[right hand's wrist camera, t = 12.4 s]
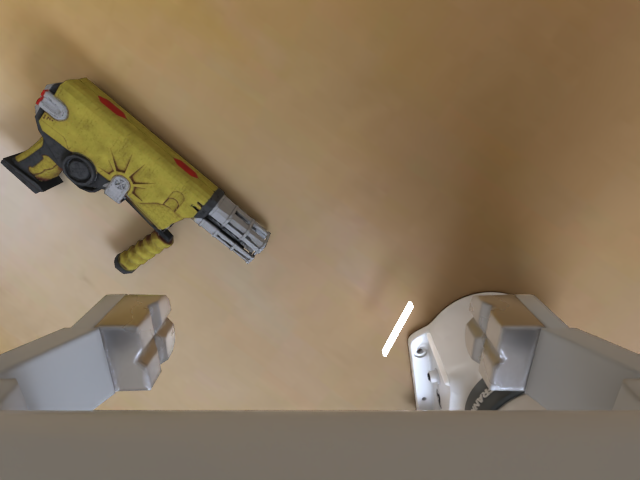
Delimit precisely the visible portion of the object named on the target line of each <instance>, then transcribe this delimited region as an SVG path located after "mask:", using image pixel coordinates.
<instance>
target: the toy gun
mask: <svg viewBox="0 0 640 480" xmlns="http://www.w3.org/2000/svg"><path fill="white" fill-rule="evenodd" d="M35 109H36V116H35V119H36V122H37V126H38V130H39V132H40V133H41V135H42V137H41V138H40V140H39V141H38V142H36V143H35V144H34V145H33V146H32V147H31V148H29V149H28V150H26V151H24V152H21V153H18V154H15V155H12V156H9V157H6V158H3V160H2V161H1V163H2V164H3V165H4V166H5V167H6V168H7V169H8V170H9V171H10V172H11V173H13V174H14V175H15V176H16V177H17V178H18V179H19V180H20V181H22V182H23V183H24V184H25V185H26V186H27V187H28V188H29V189H31V190H32V191H33V192H34V193H35V194H36V193H38V192H44V191H46V190H48V189H50V188H52V187H54V186H56V185H58V184H60V183H62V182H63V181H62V179H61V178H60V177H59V176H58V175H59V174H60V173H61V171H63V173H64V174H65V175H66V176H67V177H68V178H69V179H70V180H71V181H72V182H73V183H74V184H75V185H76V186H78V187H79V188H80V189H83V190H85V191H87V192H97V191H99V190H101V189H105V192H104V193H105V194H106V195H107V196H109V197H110V198H111V199H113V200H114V201H115V202H117V203H121V202H123V201H124V200H126V201H127V202H128V203H129V204H130V205H131V206H132V207H133V208H134V209H135V210H136V211H137V212H138V213H139V214H140V215H141V216H142V217H143V218H144V219H145V220H146V221H147V222H148V223H149V224H150V225H151V226H152V227H153V228H154V229H155V231H153V232H152V233H151V234H150V235H147V236H146V237H145V238H144V239H143V240H139V241H138V242H137V244H136V245H133V246H131V247H130V248H129V249H128V251H124V252H122V253H120V254H118V255H117V256H116V258H115V260H114V263H115V268H116V269H118V270H119V271H120V272H121V273H123V274H127V273H132V272H134V271H135V270H136V269H137V268H138V267H139V266H140V265H141V264H144V263H145V262H147V261H148V259H151V258H153V257H154V256H155V254H158V253H160V252H161V251H162V250H163V249H164V248H168V247H170V246H171V245H172V244H173V235H172V234H171V233H170V232H169V231H168V230H167V229H168V228H169V227H171V226H172V225H173V224H174V223H175V222H178V221H180V220H183V219H184V218H191V219H192V220H194V221H195V222H196V223H197V224H198V225H199V226H202V227H203V228H204V229H205V230H207V231H208V232H209V233H210V234H211V235H212V236H213V237H215V238H217V239H218V240H219V241H220V242H222V243H223V244H224V245H225V246H227V247H228V248H229V249H230V250H231V251H232V250H233V251H234V252H235V253H236V254H237V255H239V256H240V257H241V258H242V259H244V260H245V261H246V263H247V264H248V263H250V262H251V261H252V260H253V259H254V257H255V255H256V254H257V253H258V254H259V253H260V252H261V251H262V250H263V249H264V248H265V247H266V245H267V242H268V239H269V236H270V234H271V233H270V232H267V231H266V230H265V229H264V228H263V227H261V226H260V225H259V224H258V223H257V222H256V221H255V220H254V219H252V218H251V217H249V216H248V215H247V214H246V213H245V212H243V211H242V210H241V209H240V208H239V206H237V205H235V204H234V203H233V202H232V201H231V200H230V199H228V198H227V197H226V196H225V195H224V192H223V191H222V190H221V189H219V188H218V187H217V186H216V185H215V184H213V183H212V182H211V181H210V180H209V179H207V178H206V177H205V176H204V175H203V174H201V173H200V172H199V171H198V170H197V169H195V168H194V167H193V166H192V165H191V164H189V163H188V162H187V161H186V160H185V159H183V158H182V157H181V156H180V155H179V154H177V153H176V152H175V151H174V150H173V149H171V148H170V147H169V146H168V145H167V144H165V143H164V142H163V141H162V140H161V139H159V138H158V137H157V136H156V135H155V134H153V133H152V132H151V131H150V130H148V129H147V128H146V127H145V126H144V125H142V124H141V123H140V122H139V121H138V120H136V119H135V118H134V117H133V116H132V115H130V114H129V113H128V112H127V111H126V110H124V109H123V108H122V107H121V106H120V105H118V104H117V103H116V102H115V101H114V100H112V99H111V98H110V97H109V96H108V95H106V94H105V93H104V92H103V91H102V90H100V89H99V88H98V87H97V86H96V85H94V84H93V83H92V82H91V81H90V80H88V79H87V78H82V79H71V80H66V81H65V82H62V83H54V84H49V85H46V87H45V89H44V90H43V91H42V93H41V97H40V98H39V99H38V100H37V102H36V106H35ZM260 236H261V237H262V238H261V237H260ZM265 238H266V240H264V239H265ZM253 242H254V243H253ZM257 245H258V246H259V247H260V248H259V247H258V246H257ZM243 248H245V249H247V250H248V251H249V253H248V252H247V251H246V250H244V249H243ZM253 251H255V252H254V253H253V254H252V252H253Z"/></svg>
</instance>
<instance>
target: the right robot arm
mask: <svg viewBox="0 0 640 480" xmlns="http://www.w3.org/2000/svg"><path fill="white" fill-rule="evenodd" d="M412 309H413V305H412V302H408V304H407V306H406V308H405V310H404V311H403V313H402V315H401V317H400V319H399V321H398V322H397V324H396V326H395V328H394V330H393V332H392V333H391V335H390V337H389V339H388V341H387V343H386V344H385V346H384V348H383V350H382V352H383V356H386V355H387V354H388V352H389V350H390V348H391V346H392V345H393V343H394V341H395V339H396V337H397V336H398V334H399V332H400V330H401V328H402V327H403V325H404V323H405V321H406V319H407V318H408V316H409V314H410V312H411V310H412ZM170 311H171V306H170V301H169V298H168V297H167V296H166V295H131V294H130V295H128V294H111V295H106V296H104V297H103V298H102V299H101V300H100V301H99V302H98V303H97V304H96V305H95V306H94V307H93V308H92V309H90V310H89V311H88V312H87V313H86V314H85V315H84V316H83V317H82V318H81V319H80V320H79V321H78V322H76V323H75V324H74V325H73V326H72V327H71V328H63V329H61V330H58V331H56V332H53V333H51V334H49V335H46V336H44V337H41V338H39V339H37V340H34V341H32V342H29V343H27V344H25V345H22V346H20V347H17V348H15V349H12V350H10V351H8V352H5V353H3V354H0V480H640V355H639V354H637V353H635V352H632V351H630V350H627V349H625V348H623V347H620V346H618V345H615V344H613V343H611V342H608V341H606V340H603V339H601V338H599V337H596V336H594V335H591V334H589V333H587V332H584V331H582V330H579V329H577V328H569V327H568V326H567V325H566V324H565V323H564V322H562V321H561V320H560V319H559V318H558V317H557V316H556V315H555V314H554V313H553V312H552V311H551V310H550V309H549V308H547V307H546V306H545V305H544V304H543V303H542V302H541V301H540V300H539V299H538V298H537V297H536V296H534V295H531V294H518V295H509V294H505V293H498V292H485V293H478V294H473V295H470V296H467V297H464V298H462V299H460V300H457V301H456V302H454V303H452V304H451V305H449V306H448V307H446V308H445V309H444V310H443V311H442V312H441V313H440V314H439V315H438V316H437V317H436V318H435V319H434V320H433V321H432V322H431V323H430V324H429V325H428V326H425V327H423V328H422V329H420V330H418V331H416V332H414V333H413V334H412V335H410V337H409V338H408V347H409V355H410V362H411V370H412V377H413V385H414V393H415V400H416V408H417V410H93V409H95V408H96V407H97V406H99V405H100V404H101V403H103V402H104V401H105V400H107V399H108V398H109V397H111V396H112V395H113V394H115V391H140V390H151V388H152V387H153V385H154V383H155V381H156V380H157V378H158V376H159V375H160V373H161V366H160V364H161V363H163V362H165V361H166V360H168V359H169V357H170V355H171V353H172V351H173V347H174V343H175V329H174V324H173V323H172V322H171V321H170V320H169V319H168V318H167V316H168V314H169V313H170ZM418 349H421V350H418Z"/></svg>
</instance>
